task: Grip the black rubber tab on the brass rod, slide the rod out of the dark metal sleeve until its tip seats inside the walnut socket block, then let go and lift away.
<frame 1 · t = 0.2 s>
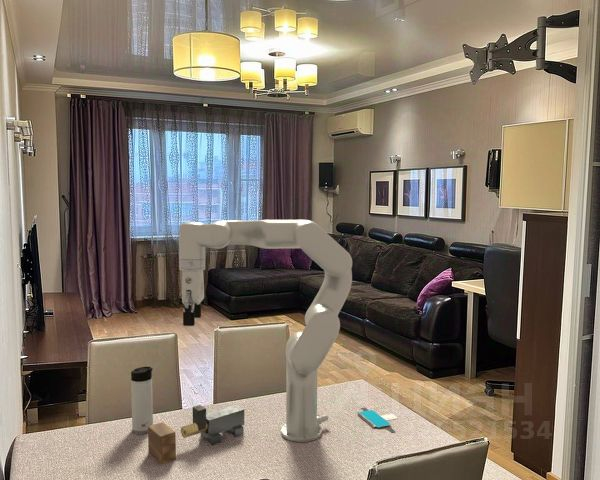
hand: (192, 321, 158), 36 cm above the table, tool pointing down, fingers open, 9 cm apart
brass rod: (210, 416, 160), point 7 cm above the table, slide at 0.0 cm
cyan and grey device: (379, 421, 176), on the table
walnut socket: (162, 456, 151), on the table
metal sleeve: (222, 435, 163), on the table
travel mug: (143, 430, 167), on the table
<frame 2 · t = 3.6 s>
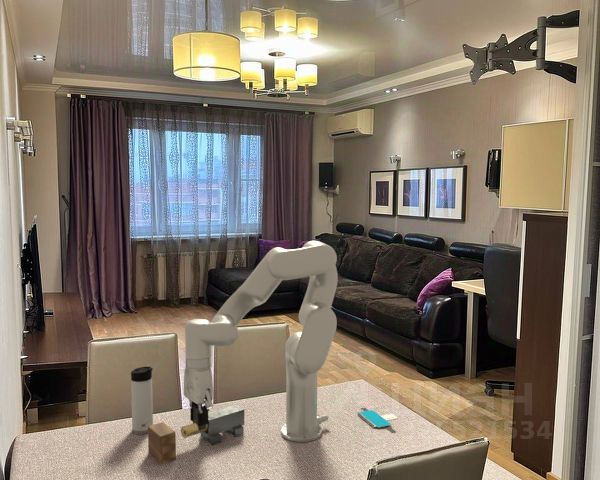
hand: (199, 421, 158), 7 cm above the table, tool pointing down, fingers closed on brass rod, 3 cm apart
brass rod: (210, 416, 160), point 7 cm above the table, slide at 0.0 cm, touching gripper
everything else where it was.
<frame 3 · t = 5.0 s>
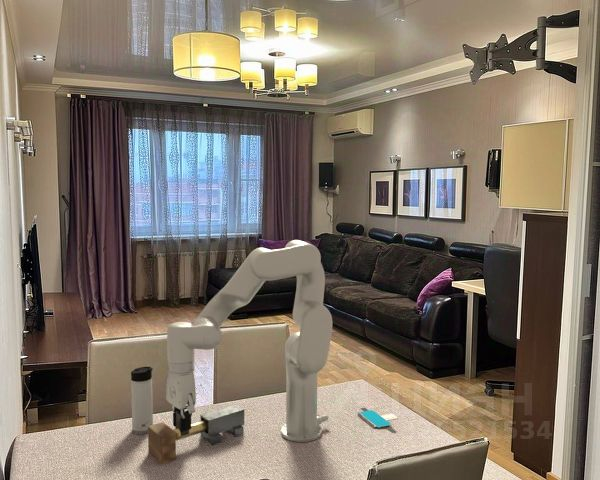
hand: (182, 426, 154), 7 cm above the table, tool pointing down, fingers closed on brass rod, 3 cm apart
brass rod: (193, 421, 157), point 7 cm above the table, slide at 5.6 cm, touching gripper
everything else where it was.
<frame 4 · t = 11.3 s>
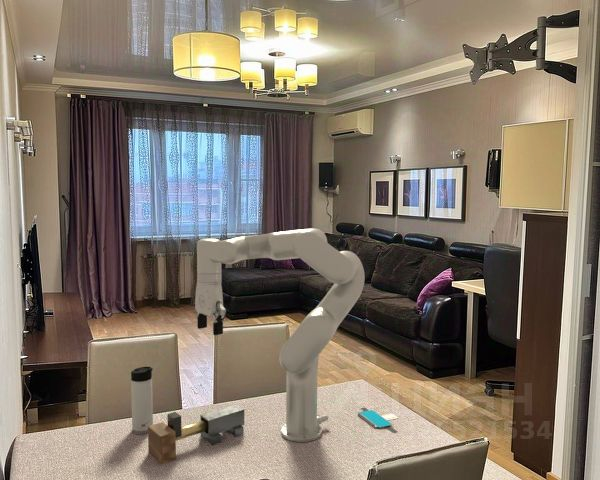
hand: (210, 331, 169), 30 cm above the table, tool pointing down, fingers open, 9 cm apart
brass rod: (186, 424, 155), point 7 cm above the table, slide at 8.0 cm
everything else where it was.
at the end: brass rod slide at 8.0 cm; the gripper is holding nothing; travel mug moved 0.2 cm from its start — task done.
